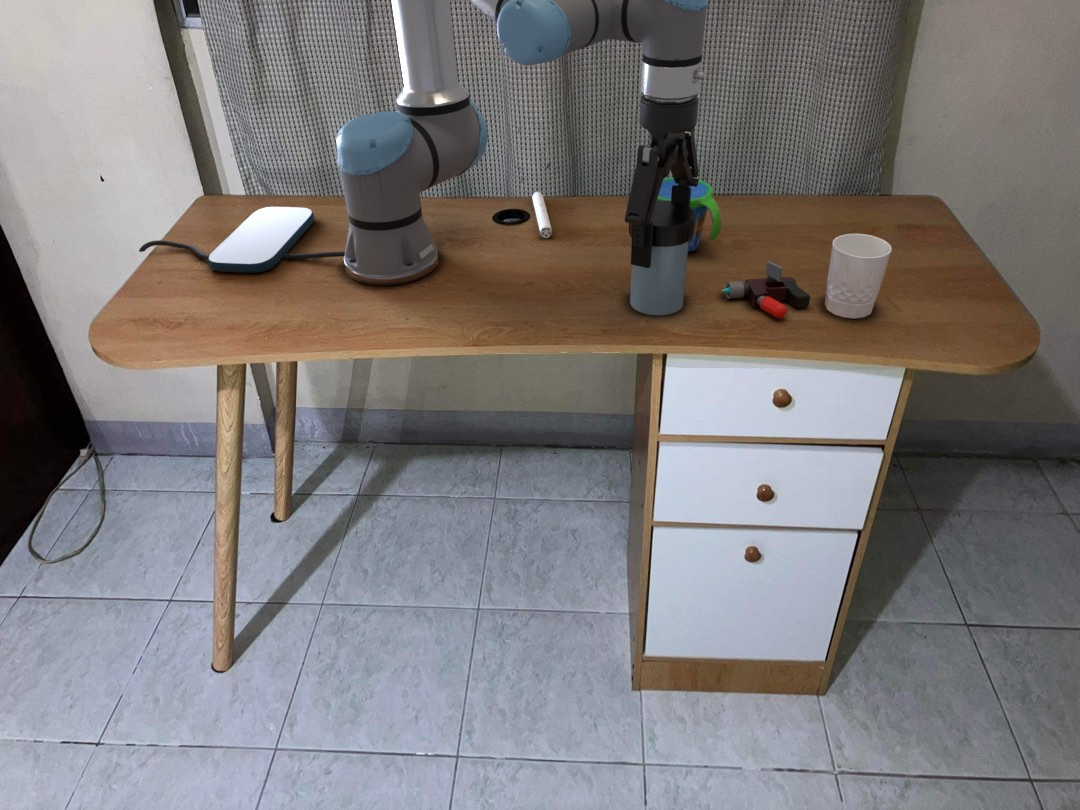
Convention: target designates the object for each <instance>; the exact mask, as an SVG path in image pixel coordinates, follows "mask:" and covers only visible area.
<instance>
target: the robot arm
mask: <svg viewBox="0 0 1080 810" xmlns="http://www.w3.org/2000/svg"><path fill="white" fill-rule="evenodd" d="M390 2H391V7H392V14H393V20H394V27H395V32H396V33H395V34H396V40H397V41H396V42H397V47H398V48H397V49H398V54H399V61H400V68H401V74H402V81H403V87H402V90H401V91H400V92H399V94H398V95H397V97H396V106H397V111H394V110H393V111H391V110H385V111H376V112H374V113H366V114H363V115H360V116H358V117H355V118H353V119H351V120H350V121H348V122H347V123H345V124H344V125H343V126H342V127H341V128H340V129H339V131H338V133H337V135H336V141H335V142H336V151H337V156H336V160H337V161H336V162H337V166H338V167H339V171H340V176H341V184H342V189H343V194H344V195H343V196H344V200H345V206H346V213H347V215H348V216H347V217H348V232H347V237H346V238H347V239H346V245H345V250H342V251H341V250H340V251H325V252H324V251H323V252H309V253H286V254H283V257H282V258H281V260H283V259H284V260H304V259H305V260H306V259H320V258H336V257H337V258H338V257H339V258H340V257H343V261H344V267H345V272H346V274H347V275H348V277H350V278H351V279H352V280H354V281H356V282H359V283H361V284H366V285H370V286H372V285H373V286H395V285H402V284H407V283H412V282H414V281H417V280H420V279H422V278H425V277H426V276H428V275H429V274H431V273H432V272H433V271H434V270H435V269H436V268H437V266H438V264H439V252H438V251H439V250H438V247H437V245H436V243H435V241H434V239H433V236H432V234H431V232H430V230H429V228H428V226H427V224H426V222H425V219H424V218H423V210H422V202H421V193H422V192H424V191H426V190H428V189H431V188H433V187H435V186H437V185H439V184H441V183H444V182H446V181H448V180H450V179H452V178H453V179H454V178H456V177H460V176H461V175H463V174H465V173H466V172H468V170H470V169H471V168H473V167H475V166H476V165H478V163H479V162H480V161H481V159H482V158H483V157H484V155H485V152H486V150H487V146H488V125H487V122H486V119H485V117H484V114H483V113H480V108H479V107H478V105H477V104H476V103H475V102H474V101H473V100H471V98H470V92H469V90H468V89H466V88H465V87H464V86H463V85H462V84H461V83H460V82H459V77H458V69H457V60H456V51H455V43H454V33H453V24H452V23H453V22H452V16H451V14H452V13H451V7H450V0H391V1H390ZM469 2H470V3H472V4H473V5H474V6H476V8H477V9H479V10H480V11H481V12H482V13H484V14H485V16H487V17H488V18H489V19H491V20H492V21H493V22H494V23H495V24H496V32H497V33H496V34H497V38H498V41H499V44H501V46H502V48H503V50H504V53H505V55H506V56H507V57H508V58H509V59H510V60H511V61H513V62H515V63H516V64H519V65H521V66H535V65H539V64H544V63H550V62H553V61H555V60H557V59H559V58H560V57H563V56H566V55H569V54H570V53H573V52H575V51H578V50H581V49H585V48H587V47H590V46H592V45H593V46H594V45H596V44H598V43H601V42H604V41H607V40H611V41H612V40H613V41H621V42H622V41H623V42H630V43H637V44H638V43H639V44H640V43H641V45H642V57H641V75H640V93H641V94H643V95H642V96H641V98H640V101H639V102H640V105H639V124H640V126H641V127H642V128H643V129H645V130H647V131H648V133H649V134H650V136H649V140H648V143H647V145H643V144H640V145H639V146H638V147H637V153H636V154H637V156H636V164H635V169H634V174H633V179H632V181H631V182H632V183H631V187H630V191H629V197H628V201H627V204H626V205H627V206H626V210H625V215H624V223H626V224H629V223H631V224H632V238H631V251H630V254H631V255H630V265H631V266H632V265H636V266H640V267H645V268H650V267H651V255H652V237H653V222H650V220H651V217H652V214H653V211H654V208H655V204H656V201H657V198H658V195H659V192H660V189H661V185H662V182H663V179H665V178H668V177H669V174H670V173H671V174H672V178H674V181H675V183H676V184H678V185H673V186H672V194H671V201H674V202H678V203H682V204H685V205H687V206H689V207H690V198H691V188H690V186H693V187H697V185H698V182H699V180H700V179H699V178H698V176H699V163H698V155H697V147H696V137H695V128H696V126H697V123H698V116H699V115H698V114H699V103H700V99H699V97H698V96H697V95H698V94H699V93H700V87H701V86H700V85H701V80H703V79H704V77H705V72H704V71H702V62H703V47H704V37H705V28H706V16H707V9H708V6H709V0H469ZM155 246H164V247H165V246H167V247H172V248H177V249H183V250H188V251H191V252H193V253H194V254H196V255H197V256H198V257H200V259H203V260H206V261H208V258H209V255H210V254H206V253H204V252H202V251H201V250H200V249H198V248H197V247H196V246H194V245H191V244H187V243H181V242H175V241H170V240H161V239H160V240H158V239H157V240H151V241H147V242H146V243H144V244H143V245H142V246H140V248H139V250H138V252H139V253H142V252H143V253H144V252H145V251H147V250H148V249H149V248H151V247H155Z"/></svg>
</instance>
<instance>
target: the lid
mask: <svg viewBox="0 0 1080 810" xmlns="http://www.w3.org/2000/svg"><path fill="white" fill-rule="evenodd" d="M694 220H695V212H694V210H693V209H692V208H690V207H689V206H687V205H685V204H682V203H678V202H674V201H665V200H657V201H656V204H655V208H654V211H653V214H652V217H651V220H650V222H653V237H652V246H655V247H671V246H677V245H681V244H684V243H686V242H688V241H689V240H691V238H692V237H693V232H694ZM628 234H629V236H630V238H631V239H632V224H631V223H628Z"/></svg>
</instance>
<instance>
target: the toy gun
mask: <svg viewBox="0 0 1080 810" xmlns="http://www.w3.org/2000/svg"><path fill="white" fill-rule="evenodd" d="M782 273H783V267H782V266H780V265H778V264H776V263H774V262H772V261H770V260H768V261H766V267H765V275H766V277H765V278H762V277H761V278H748V279H747V278H746V279H745V281H744V282H743V281H742V280H741V281H727V282H726V284H725V288H724V289H722V290H720V291H721V292H725V295H726V298H727V299H728V300H729V299H731V300H732V299H743V298H744V297H746V298H747V299H748V301H749V303H750V304H751V306H752V307H753V309H754V308H758V307H760V309H761V310H763V311H764V312H766V313H768V314H770V315H771V316H773V317H774V318H777V319H782V318H783V317H785V316H786V315H787V311H788V309H787V307H786V305H785V304H783V303H781V302H782V301H787V302H788V303H789V304H791V305H792V306H793V307H795V308H808V307H809V306H810V302H811V295H810V294H809V293H808V292H806V291H805V290H804V289H802V287H800V286H799V285H798V284H797V281H796V279H795V278H793V277H790V276H782V275H783V274H782Z"/></svg>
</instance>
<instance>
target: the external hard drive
mask: <svg viewBox="0 0 1080 810" xmlns="http://www.w3.org/2000/svg"><path fill="white" fill-rule="evenodd" d="M314 221H315V214H314V212H313V210H312V209H311V208H308V207H301V206H300V207H297V206H266V207H262V208H259V209H257V210H255V211H254V212H252V213H251V214H250V215H249V216H248V217H247V218H246V219H245V220H244V221H243V222H241V224H240V225H239V226H238V227H237V228H235V230H234V231H232V232H231V233H230V234H229V235H228V236H227V237H226V238H225V239H224V240H223V241H222V242H221V243H220V244H219V245H218V246H217V247H216V248H214V249H213V250H212V251H211V253H210V254H208V255H209V258H208V260H207V262H208V265H209V267H210V268H211V269H212V270H213V271H215V272H224V273H225V272H226V273H246V274H247V273H248V274H249V273H250V274H251V273H252V274H253V273H256V274H257V273H263V272H266V271H268V270H270V269H272V268H273V267H275V266H277V264H278V263H279V262H280V261H281V260H282V259H281V258H282V257H283V254H288V252H289V251H290V250H291V249H292V247H293V246H294V245H295V244H296V243H297V242H298V241H299V239H300V238H301V237H302V236H303V235H304V234H305V233H306V231H307V230H308V229H309V228H310V227H311V226H312V225H313V223H314Z"/></svg>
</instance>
